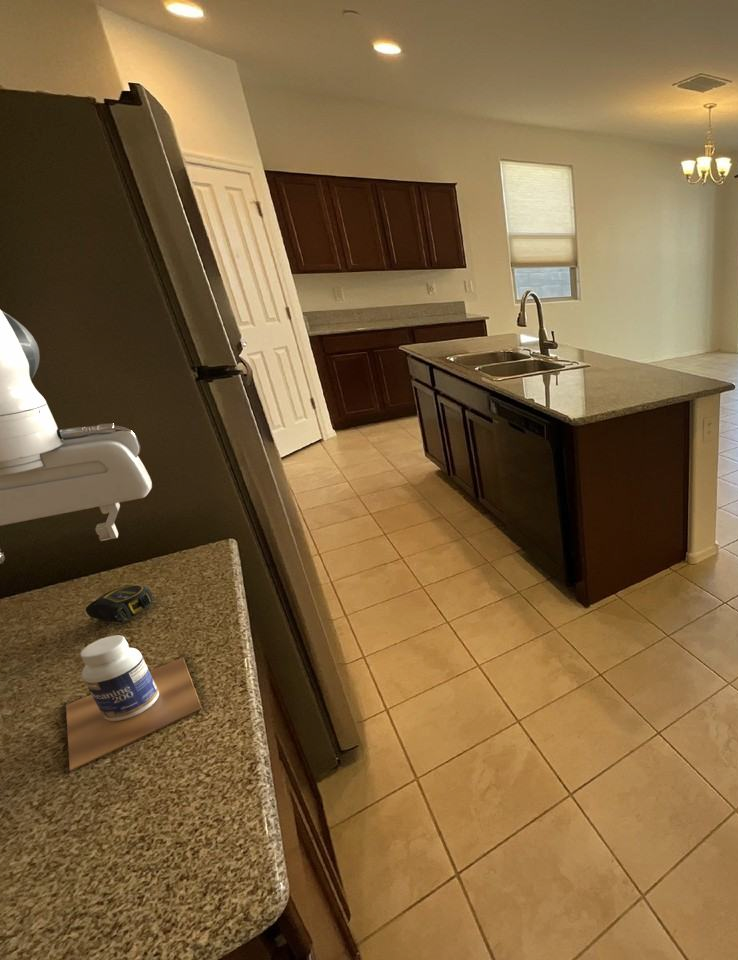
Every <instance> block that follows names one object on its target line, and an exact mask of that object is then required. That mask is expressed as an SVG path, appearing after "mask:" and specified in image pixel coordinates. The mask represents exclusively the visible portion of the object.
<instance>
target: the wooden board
mask: <svg viewBox="0 0 738 960" xmlns="http://www.w3.org/2000/svg"><path fill="white" fill-rule="evenodd" d="M149 672H150V674H151V676H152V678H153V680H154V682H155V684H156V687H157V689H158V691H159V696H158V698H157V700H156V701H155V703H154V704H152V705H151V706H150V707H149V708H148V709H146V710H145V711H143V712H141V713H140V714H138V715H136V716H133V717H131V718H128V719H124V720H119V721H110V720H107V719H105V718H104V716H103V714H102V713H101V711H100V709H99V707H98V705H97V704H96V702H95V700H94V698H93V696H92V695H91V694H90V695H87V696H85V697H82V698H79V699H77V700H75V701H72V702H69V703H68V704H66V705H65V712H66V713H65V714H66V729H67V731H66V733H67V749H68V763H69V765H68V766H69V772H71V771H74V770H76V769H78V768H81V767H82V766H84V765H86V764H89V763H91V762H92V761H95V760H97V759H99V758H102V757H103V756H105V755H107V754H110V753H112V752H114V751H116V750H118V749H121V748H123V747H125V746H127V745H129V744H132V743H133V742H135V741H138V740H140V739H142V738H144V737H146V736H148V735H150V734H152V733H154V732H155V733H156V731H159V730H160V729H163V728H165V727H168V726H169V725H170V726H171V725H172V724H174V723H176V722H178V721H181V720H182V719H185V718H186V717H188V716H191V715H193V714H195V713H197V712H199V711H201V710H203V707H202V705H201V702H200V699H199V696H198V694H197V691H196V688H195V685H194V682H193V680H192V677H191V675H190V672H189V670H188V666H187V663H186V660H185V658H184V657H180V658H178V659H175V660H173V661H170V662H168V663H165V664H163V665H161V666H158V667H156V668H152V669H151V670H149Z"/></svg>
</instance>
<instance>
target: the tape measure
mask: <svg viewBox="0 0 738 960" xmlns="http://www.w3.org/2000/svg"><path fill="white" fill-rule="evenodd" d="M153 599H154V595H153V593H152V591H151V590H150V588H148V587H147V586H145V585H144V584H127V585H124V586H120V587H117V588H114V589H112V590H110V591H107V592H106V593H104V594H103V595H101V596H100V597H98V598H97V599H96V600H94V601H93V602H91V603H89V604H88V605H87V606H86V607H85V611H86V614H87V615H88V617H89V618H92V619H97V620H107V621H113V622H119V623H125V622H128V621H129V620H130V619H131V618H132V617H134V616H136V615H139V614H141V613H143V612H145V611H146V610H147V609H149V607H151V605H152V604H153Z"/></svg>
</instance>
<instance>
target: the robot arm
mask: <svg viewBox="0 0 738 960" xmlns="http://www.w3.org/2000/svg"><path fill="white" fill-rule="evenodd" d="M39 364H40V349H39V346H38V343H37V341H36V339H35V338H34V336H33V335H32V333H31V332H30V331H29V330H28V329H27V328H26V327H25V326H24V325H23V324H21V323H20V322H19V321H18V320H17V319H15V318H14V317H13V316H11V314H8V313H6V312H5V311H3V310H1V309H0V527H1V526H7V525H11V524H16V523H20V522H26V521H31V520H37V519H41V518H47V517H53V516H58V515H63V514H67V513H73V512H77V511H84V510H87V509H88V510H89V509H94V508H99V509H100V512H101V514H102V515H107V514H108V515H107V518H106V520H105V521H104V522H100V523H97V524H96V526H95V528H94V529H95V530H94V531H95V533H96V535H97V536H98V539H99V541H100V542H105V541H111V540H115V539H118V537H119V531H118V529H117V526H116V524H115V523H116V522H115V521H116V519H117V516H118V513H119V511H120V508H121V504H120V503H125V502H128V501H134V500H138V499H144V498H146V497H147V496H148V494H149V493H150V492H151V490H152V488H153V483H152V479H151V476H150V475H149V473H148V470H147V469H146V467H145V465H144V463H143V462H142V460H141V458H140V457H139V455H140V453H141V445H140V442H139V440H138V437H137V435H136V434H135V433H134V432H133V430H131V429H129V428H127V427H124V426H120V425H115V424H114V423H101V424H97V425H92V426H78V427H69V428H61V429H59V428H58V425H57V423H56V421H55V419H54V416H53V413H52V412H51V409H50V407H49V405H48V403H47V400H46V399H45V398H44V396H43V395H42V394H41V393H40V392H39V390H38V389H37V388H36V387H35V385H34V383H33V382H32V379H34V376H35V375H36V373H37V370H38V369H39ZM118 430H119V431H118ZM1 551H2V549H1V548H0V565H2V564H4V562H5V560H6V556H5V554H4V552H1Z"/></svg>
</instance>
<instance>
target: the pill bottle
mask: <svg viewBox="0 0 738 960" xmlns="http://www.w3.org/2000/svg"><path fill="white" fill-rule="evenodd" d="M79 655H80V658H81V660H82V663H83V664H84V665H85V666H84V667H83V668H82V671H81V678H82V680H83V681H84V684H85V685H86V687H87V689H88V691H89V693H90V695H92V696H93V698H94V700H95V702H96V704H97V705H98V707H99V709H100V711H101V713H102V714H103V716H104V718H105V719H107V720H110V721H119V720H124V719H128V718H131V717H133V716H136V715H138V714H140V713H141V712H143V711H145V710H146V709H148V708H149V707H150V706H151V705H152V704H154V703H155V701H156V700H157V698H158V696H159V691H158V689H157V687H156V684H155V682H154V680H153V678H152V676H151V674H150V672H149V671H150V670H149V667H148V665H147V664H146V661H145V659H144V656H143V655H142V653H141V652H140V650H138V649H137V648H134V647H130V646H129V643H128V642H127V640H126V638H125V636H123V635H110V636H106V637H102V638H99V639H97V640H95V641H93V642H92V643H91V642H90V643H89V644H87V645H86V646H85V647H84V648H82V649H81V651H80V652H79Z"/></svg>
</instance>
